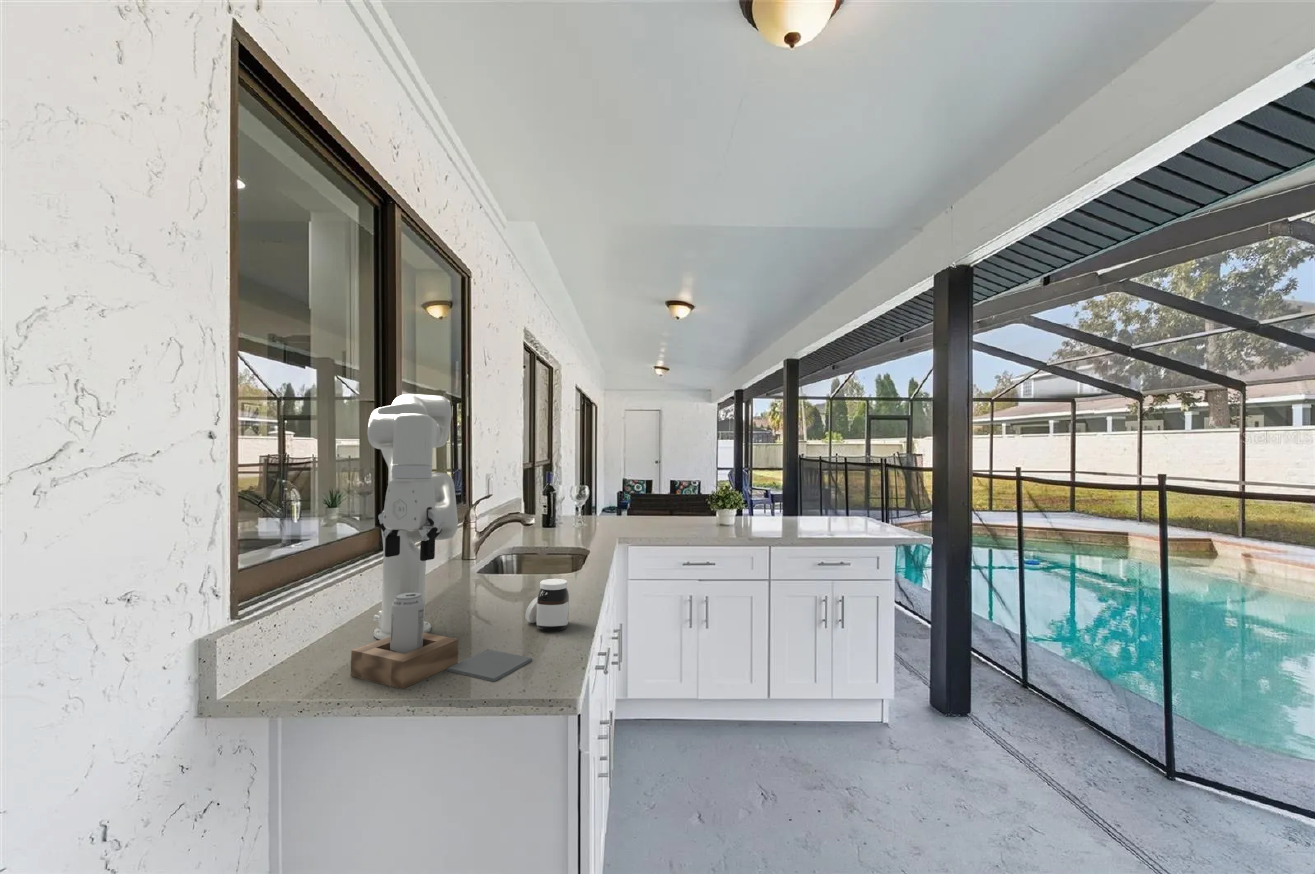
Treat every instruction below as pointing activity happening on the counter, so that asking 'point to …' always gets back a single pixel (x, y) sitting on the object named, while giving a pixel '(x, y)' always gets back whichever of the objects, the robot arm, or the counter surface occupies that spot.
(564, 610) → the spread jar
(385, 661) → the walnut frame
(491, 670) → the rubber mat
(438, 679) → the counter surface
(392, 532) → the robot arm
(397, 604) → the energy drink can
